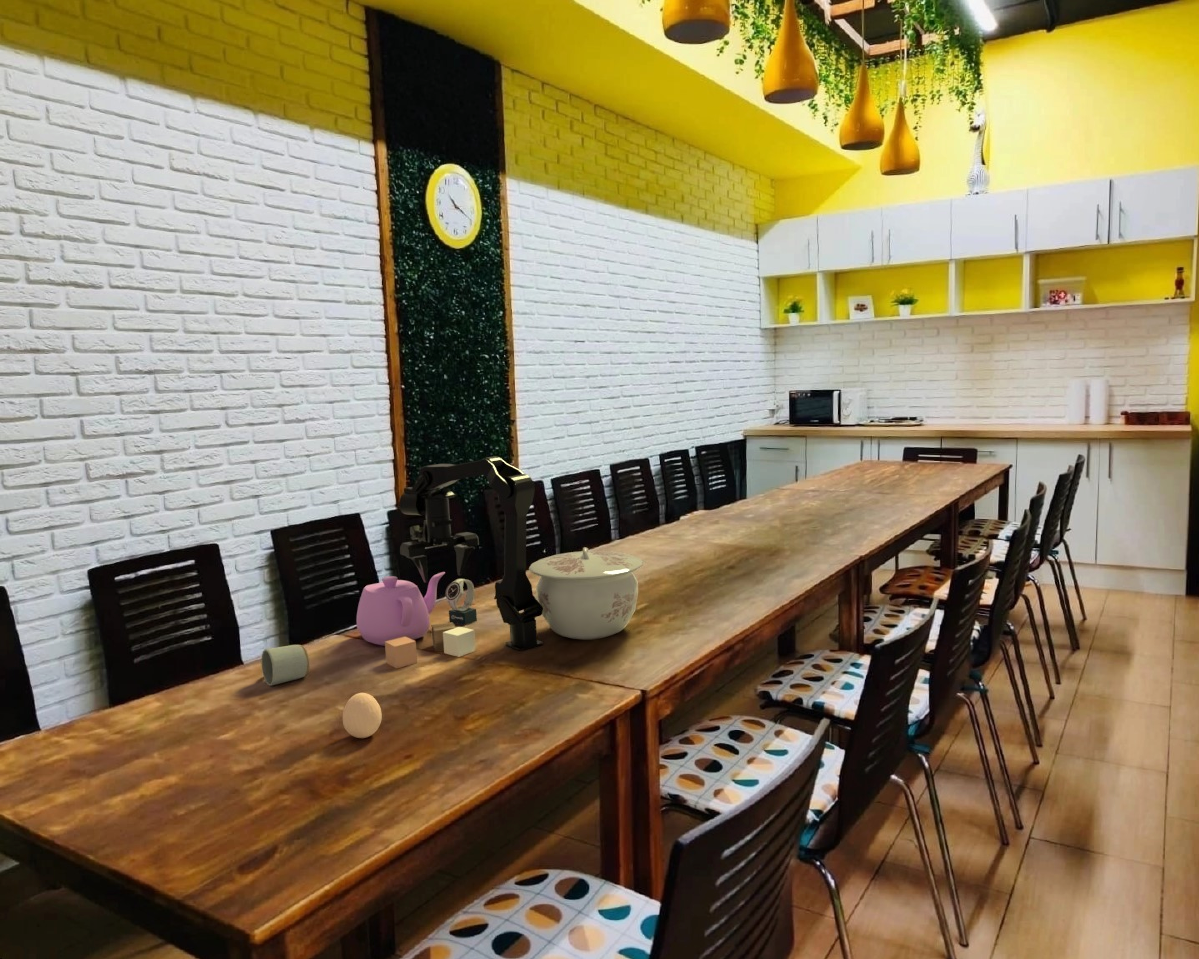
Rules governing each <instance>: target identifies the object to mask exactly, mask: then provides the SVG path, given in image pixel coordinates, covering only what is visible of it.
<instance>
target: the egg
mask: <svg viewBox="0 0 1199 959" xmlns="http://www.w3.org/2000/svg"><path fill="white" fill-rule="evenodd" d="M382 716H383V714H382V709H381V706H380V704H379V703H378V701H377V700H376V698H374V696H373V695H371V694H369V693H365V692H359V693H356V694H354V695H353V696H351V697H350V698H349V699H348V701H347V702H346V704H345V707H344V708H343V712H342V724H343V727H344V729H345V730H346V732H347V733H348V734H349V735H351V736H352V737H354V738H358V739H365V738H368V737H371V736H372V735H373V734H375V732H376V731H378V729H379V727H380V725H381V722H382Z"/></svg>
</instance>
